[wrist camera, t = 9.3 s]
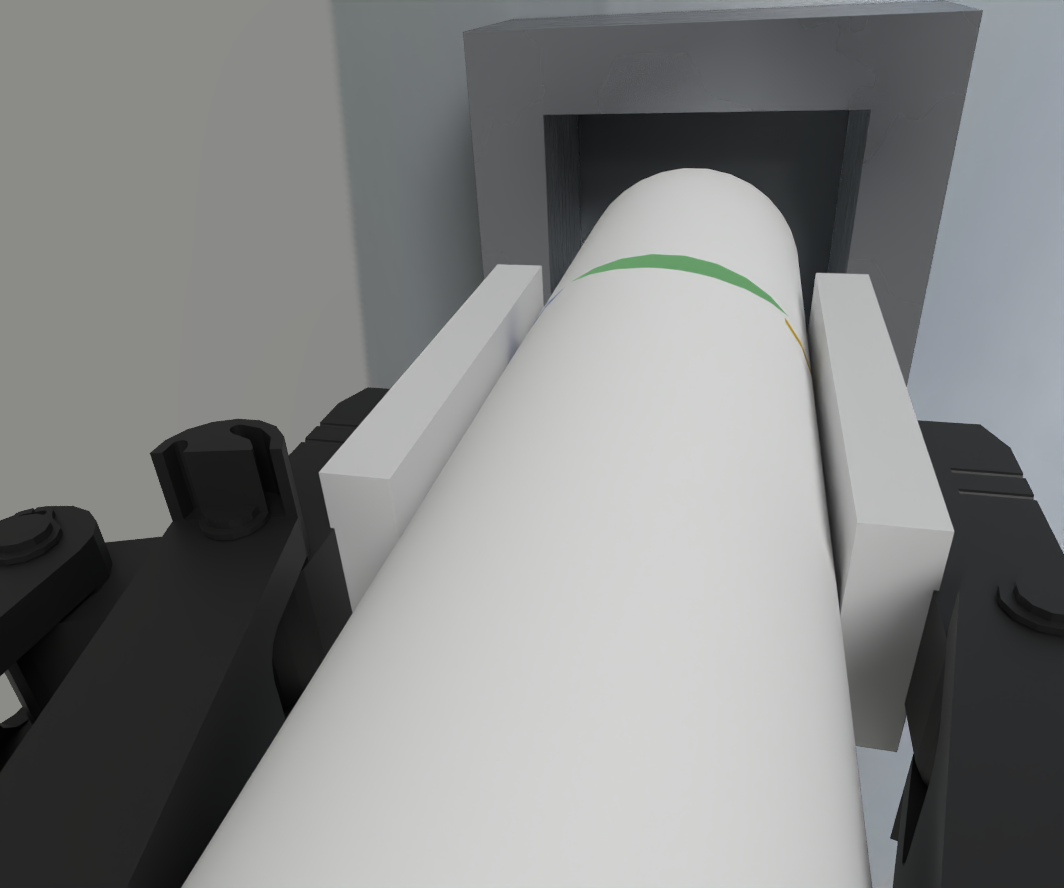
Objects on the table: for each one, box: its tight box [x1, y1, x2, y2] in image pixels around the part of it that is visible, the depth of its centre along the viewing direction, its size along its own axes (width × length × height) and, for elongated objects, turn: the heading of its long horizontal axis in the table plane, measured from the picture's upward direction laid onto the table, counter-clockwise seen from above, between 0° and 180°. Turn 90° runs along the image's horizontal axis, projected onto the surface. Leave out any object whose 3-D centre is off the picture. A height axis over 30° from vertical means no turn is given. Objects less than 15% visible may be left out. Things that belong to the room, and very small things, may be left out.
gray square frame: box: [463, 0, 983, 387], centre depth 18 cm, size 9×9×4 cm
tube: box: [181, 168, 872, 888], centre depth 10 cm, size 4×4×15 cm
